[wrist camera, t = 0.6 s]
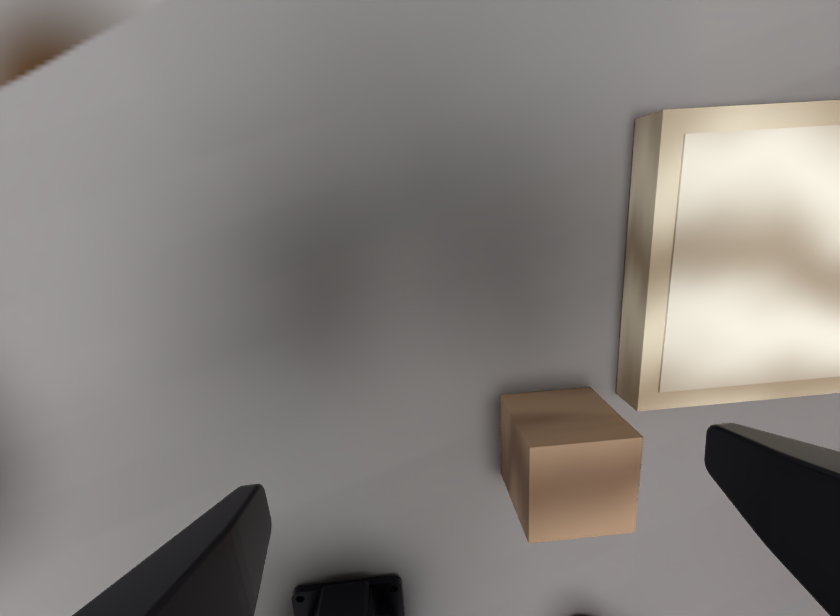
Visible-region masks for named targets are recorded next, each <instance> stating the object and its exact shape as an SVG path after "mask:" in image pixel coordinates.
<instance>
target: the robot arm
mask: <svg viewBox="0 0 840 616" xmlns="http://www.w3.org/2000/svg"><path fill="white" fill-rule="evenodd" d="M704 461H705V466H706V469H707V471H708V473H709V474H710V475H711V477H712V478H713V479H714V480H715V482H716V483H717V484H718V486H719V487H720V488H721V489H722V491H723V492H724V493H725V494H726V496H727V497H728V498H729V500H730V501H731V502H732V503H733V505H734V506H735V507H736V508H737V510H738V511H739V512H740V514H741V515H742V516H743V517H744V519H745V520H746V521H747V522H748V524H749V525H750V526H751V528H752V529H753V530H754V531H755V533H756V534H757V535H758V536H759V538H760V539H761V540H762V541H763V542H764V544H765V545H766V546H767V547H768V548H769V549H770V550H771V552H772V553H773V554H774V555H775V556H776V557H777V558H778V559H779V561H780V562H781V563H782V564H783V565H784V566H785V567H786V568H787V569H788V570H789V571H790V572H791V574H792V575H793V576H794V577H795V578H796V579H797V580H798V581H799V582H800V583H801V584H802V586H803V587H804V588H805V589H806V590H807V591H808V592H809V593H810V594H811V595H812V596H813V597H814V599H815V600H816V601H817V602H818V603H819V604H820V605H821V606H822V607H823V608H824V609H825V611H826V612H827V613H828V614H829V615H830V616H840V452H838V451H835V450H831V449H827V448H824V447H820V446H816V445H813V444H809V443H805V442H802V441H798V440H794V439H791V438H787V437H783V436H779V435H776V434H772V433H768V432H765V431H761V430H757V429H754V428H750V427H746V426H743V425H739V424H735V423H722V424H714V425H711V426H710V427H709V428H708V430H707V434H706V446H705V458H704ZM270 535H271V516H270V512H269V507H268V503H267V498H266V493H265V490H264V487H263V486H262V485H261V484H253V485H245V486H240V487H238V488H237V489H236V490H234V491H233V492H232V493H230V494H229V495H228V496H226V497H225V498H224V499H223V500H221V501H220V502H219V503H217V504H216V505H215V506H214V507H212V508H211V509H210V510H208V511H207V512H206V513H204V514H203V515H202V516H201V517H199V518H198V519H197V520H195V521H194V522H193V523H192V524H190V525H189V526H188V527H186V528H185V529H184V530H182V531H181V532H180V533H179V534H177V535H176V536H175V537H173V538H172V539H171V540H169V541H168V542H167V543H166V544H164V545H163V546H162V547H160V548H159V549H158V550H157V551H155V552H154V553H153V554H151V555H150V556H149V557H147V558H146V559H145V560H144V561H142V562H141V563H140V564H138V565H137V566H136V567H135V568H133V569H132V570H131V571H129V572H128V573H127V574H125V575H124V576H123V577H122V578H120V579H119V580H118V581H116V582H115V583H114V584H112V585H111V586H110V587H109V588H107V589H106V590H105V591H103V592H102V593H101V594H100V595H98V596H97V597H96V598H94V599H93V600H92V601H90V602H89V603H88V604H87V605H85V606H84V607H83V608H81V609H80V610H79V611H77V612H76V613H75V614H74V615H72V616H254V612H255V607H256V603H257V598H258V593H259V588H260V583H261V579H262V574H263V569H264V564H265V559H266V554H267V549H268V545H269V540H270ZM393 585H395V586H393ZM292 604H293V609H294V615H295V616H405V611H404V601H403V590H402V581H401V579H400V578H399V577H397V576H389V577H380V578H371V579H362V580H353V581H344V582H334V583H325V584H316V585H307V586H300V587H297V588H295V590H294V591H293V595H292Z"/></svg>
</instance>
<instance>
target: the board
mask: <svg viewBox="0 0 840 616" xmlns="http://www.w3.org/2000/svg"><path fill="white" fill-rule="evenodd" d="M831 393H840V100H830V101H811V102H793V103H775V104H757V105H739V106H721V107H703V108H685V109H667V110H661V111H658V112H655V113H652V114H649V115H646V116H643V117H640V118H638V119H635V131H634V145H633V160H632V174H631V188H630V202H629V217H628V231H627V245H626V259H625V274H624V288H623V302H622V316H621V331H620V345H619V359H618V373H617V388H616V394H618V395H619V396H620V397H621V398H622V399H623V400H625V401H626V402H627V403H628V404H629V405H630V406H632V407H633V408H634V409H635V410H636V411H647V410H658V409H669V408H679V407H690V406H701V405H712V404H723V403H734V402H744V401H755V400H766V399H777V398H788V397H799V396H809V395H820V394H831Z"/></svg>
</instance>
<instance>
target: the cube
mask: <svg viewBox="0 0 840 616" xmlns="http://www.w3.org/2000/svg"><path fill="white" fill-rule="evenodd" d="M500 421H501V475H502V477H503V480H504V482H505V485H506V487H507V490H508V492H509V495H510V497H511V500H512V502H513V505H514V507H515V510H516V512H517V515H518V518H519V520H520V523H521V525H522V528H523V530H524V533H525V535H526V538H527V540H528V543H537V542H547V541H557V540H566V539H576V538H585V537H595V536H605V535H614V534H624V533H633V532H635V524H636V513H637V502H638V491H639V480H640V470H641V459H642V448H643V436H642V435H640V434H639V433H638V432H637V431H636V430H635V429H634V428H633V427H632V426H631V425H630V424H629V423H628V422H627V421H626V420H624V419H623V418H622V417H621V416H620V415H619V414H618V413H617V412H616V411H615V410H614V409H613V408H612V407H611V406H609V405H608V404H607V403H606V402H605V401H604V400H603V399H602V398H601V397H600V396H599V395H598V394H597V393H596V392H595V391H593V390H592V389H591V388H590V387H584V388H573V389H561V390H550V391H539V392H527V393H516V394H504V395H500Z"/></svg>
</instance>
